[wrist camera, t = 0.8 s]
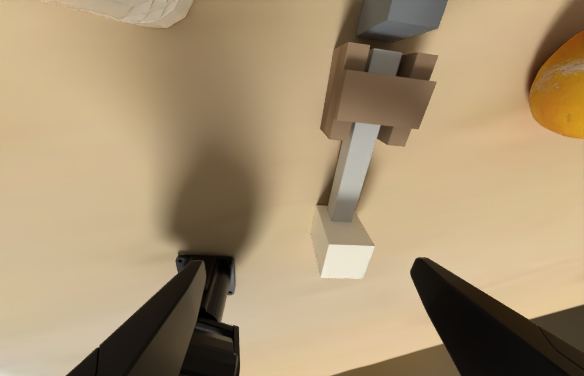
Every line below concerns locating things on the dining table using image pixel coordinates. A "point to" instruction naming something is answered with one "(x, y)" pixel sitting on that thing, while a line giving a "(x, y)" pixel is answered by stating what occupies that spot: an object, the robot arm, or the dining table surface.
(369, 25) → the telltale
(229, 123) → the dining table surface
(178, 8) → the white cup
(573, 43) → the fruit
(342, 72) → the housing
